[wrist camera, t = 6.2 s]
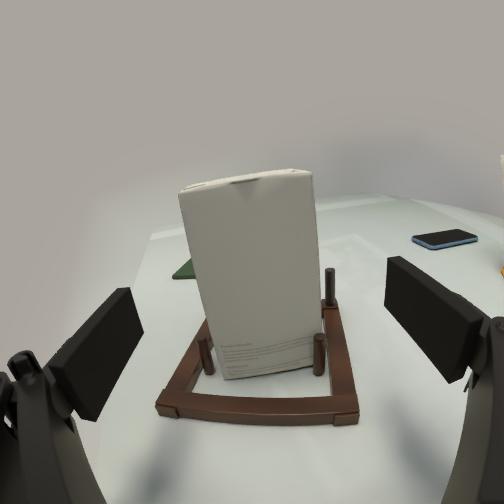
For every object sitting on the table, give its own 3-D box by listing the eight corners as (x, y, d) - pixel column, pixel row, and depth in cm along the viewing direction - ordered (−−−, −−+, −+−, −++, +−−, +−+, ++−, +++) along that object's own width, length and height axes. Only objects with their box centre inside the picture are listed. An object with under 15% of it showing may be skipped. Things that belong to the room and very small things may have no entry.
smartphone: (409, 235, 47) (457, 228, 47) (409, 240, 47) (457, 232, 48) (432, 245, 40) (480, 236, 40) (432, 250, 40) (479, 240, 40)
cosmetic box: (306, 329, 26) (295, 168, 21) (324, 368, 20) (319, 167, 15) (219, 341, 25) (190, 180, 21) (217, 384, 19) (175, 184, 15)
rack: (357, 424, 14) (369, 369, 12) (159, 414, 16) (134, 364, 15) (335, 306, 29) (335, 263, 27) (215, 310, 31) (208, 270, 30)
